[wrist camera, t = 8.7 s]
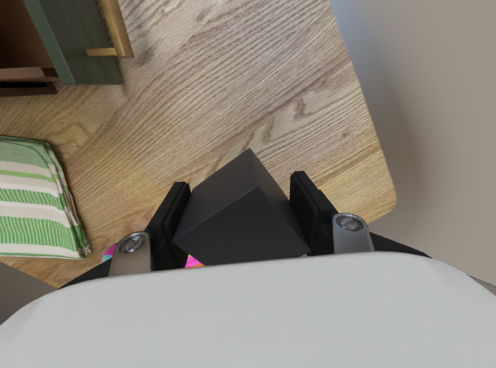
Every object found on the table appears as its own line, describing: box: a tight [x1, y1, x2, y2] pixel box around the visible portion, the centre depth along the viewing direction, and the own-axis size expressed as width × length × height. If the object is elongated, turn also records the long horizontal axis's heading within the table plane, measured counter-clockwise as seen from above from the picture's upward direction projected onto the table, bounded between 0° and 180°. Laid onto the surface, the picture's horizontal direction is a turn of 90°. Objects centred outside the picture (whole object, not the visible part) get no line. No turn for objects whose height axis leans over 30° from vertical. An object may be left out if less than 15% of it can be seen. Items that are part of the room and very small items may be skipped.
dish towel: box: [0, 136, 92, 260], centre depth 30 cm, size 18×23×3 cm
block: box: [172, 148, 311, 266], centre depth 10 cm, size 4×4×4 cm
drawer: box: [0, 0, 134, 85], centre depth 17 cm, size 18×11×8 cm, turn 93°
